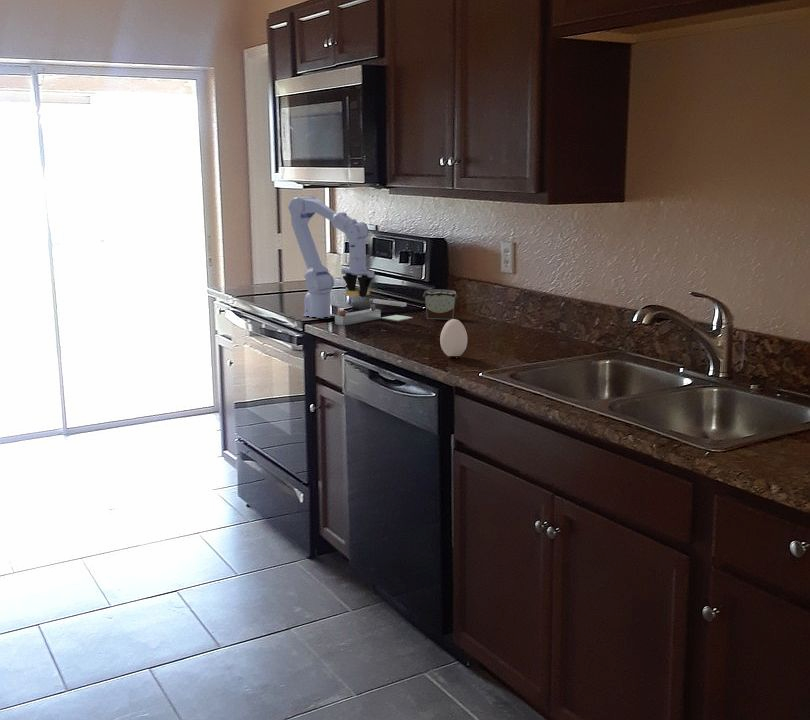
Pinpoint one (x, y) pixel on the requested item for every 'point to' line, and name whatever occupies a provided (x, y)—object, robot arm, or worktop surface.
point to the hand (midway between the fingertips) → (357, 295)
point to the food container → (440, 304)
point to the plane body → (357, 316)
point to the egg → (453, 338)
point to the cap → (355, 292)
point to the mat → (397, 318)
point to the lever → (387, 302)
